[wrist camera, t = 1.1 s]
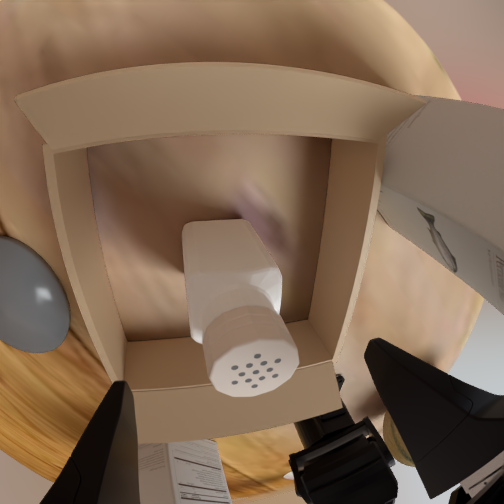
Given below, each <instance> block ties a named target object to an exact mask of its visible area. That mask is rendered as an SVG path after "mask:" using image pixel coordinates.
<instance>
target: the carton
mask: <svg viewBox="0 0 504 504" xmlns="http://www.w3.org/2000/svg"><path fill="white" fill-rule="evenodd" d="M14 101H15V103H16V104H17V105H18V107H19V108H20V109H21V111H22V112H23V113H24V115H25V116H26V117H27V119H28V120H29V121H30V123H31V124H32V125H33V126H34V128H35V129H36V130H37V132H38V133H39V134H40V135H41V137H42V138H43V139H44V140H45V142H46V143H45V144H42V146H43V157H44V166H45V174H46V181H47V187H48V193H49V199H50V205H51V210H52V215H53V220H54V224H55V229H56V233H57V237H58V241H59V245H60V249H61V253H62V257H63V260H64V264H65V267H66V270H67V274H68V277H69V280H70V283H71V286H72V289H73V292H74V295H75V298H76V301H77V304H78V306H79V309H80V312H81V314H82V317H83V320H84V322H85V325H86V327H87V330H88V332H89V334H90V337H91V339H92V341H93V344H94V346H95V348H96V351H97V353H98V355H99V357H100V359H101V361H102V363H103V366H104V368H105V370H106V372H107V374H108V376H109V378H110V380H111V382H112V383H113V382H114V381H117V380H125V381H126V382H127V383H128V385H129V387H130V389H131V391H132V394H133V397H134V406H135V417H136V426H137V435H138V444H145V443H169V442H183V441H194V440H203V439H211V438H219V437H226V436H232V435H238V434H244V433H249V432H255V431H259V430H264V429H269V428H273V427H278V426H282V425H286V424H290V423H294V422H298V421H301V420H305V419H309V418H312V417H315V416H319V415H322V414H325V413H328V412H332V411H335V410H338V409H341V408H343V407H342V402H341V397H340V393H339V388H338V384H337V379H336V375H335V370H334V366H333V363H336V362H337V361H338V358H339V356H340V353H341V350H342V347H343V343H344V340H345V337H346V334H347V331H348V328H349V324H350V321H351V318H352V314H353V311H354V307H355V304H356V300H357V296H358V293H359V289H360V285H361V281H362V277H363V273H364V269H365V265H366V261H367V256H368V252H369V247H370V243H371V238H372V233H373V228H374V223H375V217H376V212H377V206H378V200H379V194H380V188H381V181H382V174H383V166H384V158H385V150H386V140H387V134H388V133H390V132H391V131H392V130H393V129H395V128H396V127H397V126H398V125H400V124H401V123H402V122H404V121H405V120H406V119H407V118H409V117H410V116H411V115H413V114H414V113H415V112H416V111H418V110H419V109H420V108H422V107H423V106H424V105H425V104H426V101H425V99H422V98H419V97H416V96H414V95H411V94H408V93H405V92H402V91H398V90H395V89H392V88H389V87H385V86H382V85H378V84H375V83H371V82H367V81H363V80H359V79H355V78H351V77H346V76H341V75H337V74H332V73H326V72H321V71H315V70H309V69H302V68H295V67H287V66H279V65H269V64H256V63H239V62H184V63H167V64H155V65H145V66H137V67H129V68H122V69H116V70H110V71H104V72H99V73H94V74H89V75H84V76H80V77H76V78H71V79H68V80H64V81H60V82H56V83H53V84H49V85H46V86H43V87H39V88H36V89H33V90H30V91H27V92H25V93H22V94H19V95H16V97H15V100H14ZM217 134H271V135H295V136H311V137H324V138H332V145H331V157H330V168H329V178H328V188H327V197H326V206H325V214H324V222H323V230H322V237H321V244H320V251H319V258H318V265H317V271H316V277H315V283H314V289H313V295H312V301H311V306H310V312H309V317H308V320H303V321H297V322H292V323H286V324H285V326H286V327H287V329H288V331H289V334H290V335H291V337H292V339H293V341H294V343H295V345H296V347H297V350H298V356H299V365H298V366H297V368H296V370H295V371H294V373H293V375H292V376H291V378H290V379H288V380H287V381H286V382H284V383H283V384H282V385H280V386H279V387H277V388H276V389H274V390H272V391H269V392H266V393H263V394H260V395H257V396H253V397H232V396H229V395H227V394H224V393H222V392H219V391H217V390H216V389H215V388H214V386H213V384H212V383H211V381H210V379H209V377H208V373H207V368H206V360H205V356H204V351H203V345H202V344H200V343H198V342H196V341H195V340H194V339H193V338H192V337H183V338H173V339H162V340H149V341H135V342H127V339H126V336H125V333H124V330H123V327H122V324H121V321H120V317H119V314H118V311H117V307H116V304H115V301H114V297H113V294H112V290H111V286H110V282H109V279H108V275H107V271H106V266H105V262H104V258H103V253H102V249H101V244H100V239H99V234H98V229H97V224H96V218H95V212H94V206H93V199H92V192H91V185H90V177H89V168H88V157H87V147H92V146H98V145H105V144H111V143H118V142H126V141H134V140H143V139H152V138H163V137H176V136H192V135H217Z"/></svg>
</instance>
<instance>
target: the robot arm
mask: <svg viewBox="0 0 504 504" xmlns="http://www.w3.org/2000/svg"><path fill="white" fill-rule="evenodd" d="M364 359H365V361H366V364H367V366H368V369H369V371H370V374H371V376H372V379H373V381H374V384H375V386H376V389H377V391H378V393H379V395H380V397H381V399H382V401H383V402H384V404H385V406H386V408H387V410H388V412H389V414H390V416H391V418H392V420H393V422H394V424H395V426H396V428H397V430H398V432H399V434H400V436H401V438H402V440H403V442H404V444H405V446H406V448H407V450H408V452H409V454H410V456H411V458H412V461H413V463H414V464H415V467H416V469H417V471H418V474H419V476H420V478H421V480H422V482H423V484H424V486H425V488H426V491H427V493H428V496H429V498H430V499H432V498H435V497H436V496H438V495H440V494H442V493H443V492H445V491H447V490H449V489H450V488H452V487H453V486H455V485H457V484H458V483H460V484H461V485H460V486H459V487H458V488H457V489H456V490H454V491H453V492H452V493H451V496H450V500H449V504H504V395H501V396H500V395H494V394H492V393H489V392H487V391H484V390H482V389H479V388H477V387H474V386H472V385H469V384H467V383H465V382H462V381H461V380H458V379H457V378H455V377H453V376H451V375H448V374H447V373H445V372H443V371H441V370H439V369H438V368H436V367H434V366H432V365H430V364H428V363H426V362H424V361H422V360H421V359H419V358H417V357H415V356H413V355H411V354H409V353H407V352H406V351H404V350H402V349H400V348H398V347H396V346H394V345H393V344H391V343H389V342H387V341H385V340H383V339H381V338H375V339H372V340H370V341H369V343H368V346H367V348H366V351H365V353H364ZM336 379H337V384H338V388H339V392H340V389H341V387H342V385H343V382H344V380H345V379H344V378H343V376H338V377H336ZM341 402H342V407H343V408H341V409H338V410H335V411H332V412H328V413H325V414H322V415H319V416H315V417H312V418H309V419H305V420H301V421H298V422H294V425H295V428H296V430H297V432H298V435H299V437H300V439H301V442H302V444H303V446H304V450H302V451H299V452H297V453H293V454H290V455H289V457H290V460H288V461H289V464H290V466H291V469H292V473H293V476H294V483H295V491H296V494H297V496H300V497H302V498H303V499H304V500H305V502H306V503H307V504H394V503H395V498H397V492H398V483H397V480H396V478H395V476H394V475H393V472H392V471H391V469H390V467H392V466H393V465H395V461H394V458H393V456H392V454H391V452H390V450H389V449H388V447H387V445H386V444H385V442H384V441H383V439H382V438H381V436H380V435H379V433H378V432H377V430H376V428H375V427H374V425H373V424H372V422H371V421H370V419H369V418H368V416H367V417H365V418H364V419H363V420H362V421H360V422H358V423H356V424H355V423H354V421H353V419H352V417H351V416H350V414H349V412H348V410H347V408H346V406H345V404H344V403H343V401H342V399H341ZM367 435H369V437H368V438H367V439H366V437H365V436H367ZM40 504H140V493H139V473H138V435H137V426H136V417H135V406H134V397H133V394H132V391H131V389H130V387H129V385H128V383H127V382H126V381H125V380H117V381H114V382H113V384H112V385H111V387H110V389H109V390H108V392H107V394H106V395H105V397H104V399H103V400H102V402H101V404H100V405H99V407H98V409H97V410H96V412H95V414H94V415H93V417H92V419H91V420H90V422H89V424H88V426H87V427H86V429H85V431H84V433H83V434H82V436H81V438H80V440H79V441H78V443H77V445H76V447H75V448H74V450H73V452H72V454H71V457H69V459H68V461H67V463H66V465H65V466H64V468H63V470H62V471H61V473H60V475H59V476H58V478H57V479H56V481H55V482H54V484H53V485H52V487H51V488H50V489H49V491H48V492H47V494H46V495H45V496H44V498H43V499H42V501H41V502H40Z"/></svg>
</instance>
